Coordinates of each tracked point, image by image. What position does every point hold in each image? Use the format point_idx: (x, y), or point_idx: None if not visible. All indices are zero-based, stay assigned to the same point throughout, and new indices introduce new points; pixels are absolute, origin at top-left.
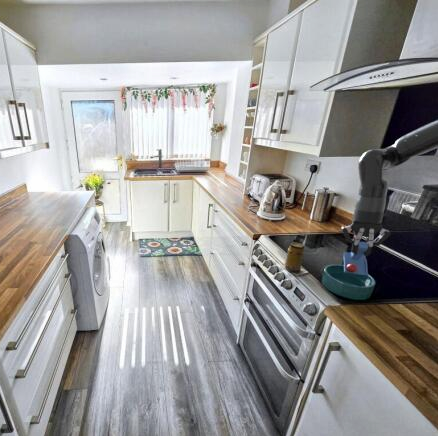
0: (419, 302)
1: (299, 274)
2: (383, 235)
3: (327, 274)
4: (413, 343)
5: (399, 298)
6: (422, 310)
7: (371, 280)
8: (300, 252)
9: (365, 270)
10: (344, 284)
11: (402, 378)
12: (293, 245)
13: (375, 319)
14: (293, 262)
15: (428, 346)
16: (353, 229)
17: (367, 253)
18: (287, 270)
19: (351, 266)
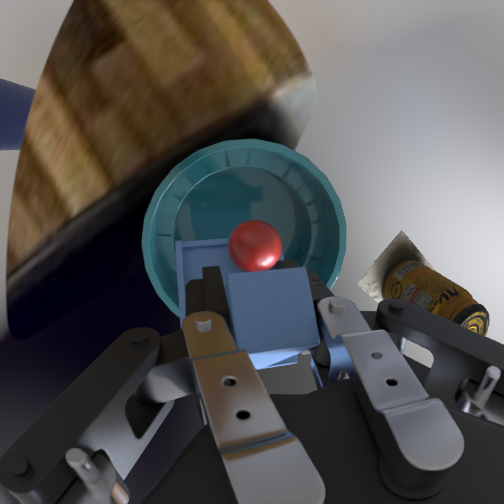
0: (30, 256)
1: (389, 247)
2: (78, 443)
3: (340, 203)
4: (101, 9)
5: (72, 251)
6: (29, 208)
7: (152, 256)
8: (448, 303)
9: (183, 268)
10: (277, 144)
11: None
12: (485, 317)
13: (169, 61)
14: (433, 272)
15: (70, 20)
16: (475, 417)
17: (208, 274)
18: (421, 256)
19: (265, 233)
